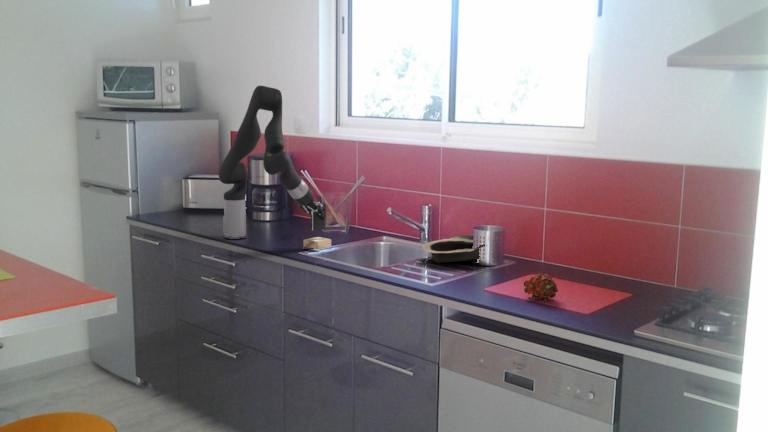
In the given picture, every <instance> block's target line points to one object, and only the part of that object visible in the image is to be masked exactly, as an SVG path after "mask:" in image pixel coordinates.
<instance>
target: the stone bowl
mask: <svg viewBox="0 0 768 432" xmlns="http://www.w3.org/2000/svg"><path fill="white" fill-rule="evenodd" d="M473 236H474V235H468V234H467V235H465V234H462V235H460V234H459V235H455V236H453V237H450V238H443V239H437V240H432V241H430V242H427V243H423V245H422V247H421V248H422V250H423V251H424V252H428V253H430V254H431V257H432V258H433V260H434V262H435V263H437V264H441V263H454V262H462V261H463V262H466V263H470V264H472V265H477V264H476V262H477V259H479V257H480V256H479V248H480V249H481V248H484V247H486V246H485V244H483V245H480V246H479V247H477V248H474V249H472V246H473ZM483 246H484V247H483Z"/></svg>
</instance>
